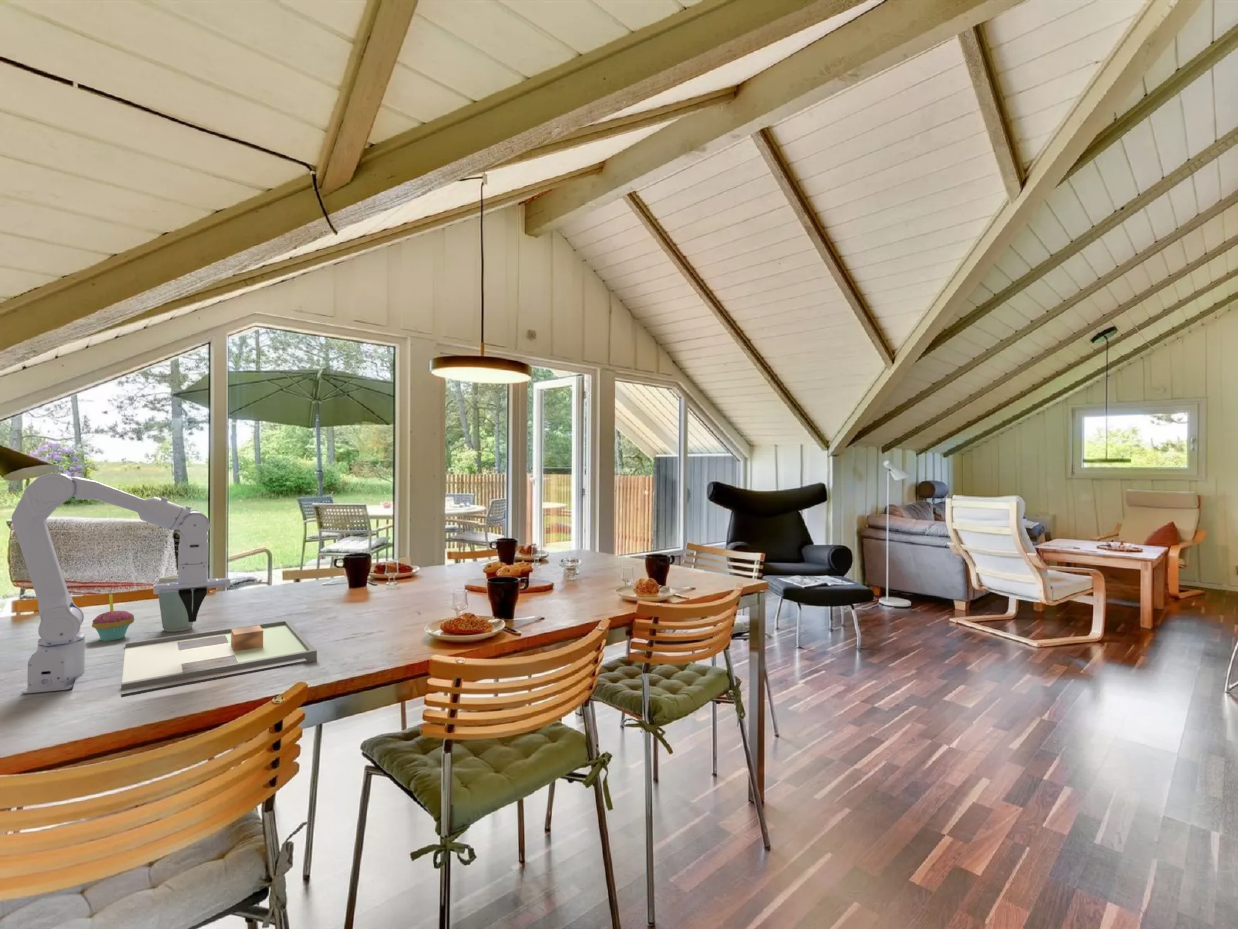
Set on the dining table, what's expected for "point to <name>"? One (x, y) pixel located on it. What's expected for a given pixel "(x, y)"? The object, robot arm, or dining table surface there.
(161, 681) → the sectioned serving tray
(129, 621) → the cupcake
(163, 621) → the disposable coffee cup
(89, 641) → the dining table surface
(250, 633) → the block
